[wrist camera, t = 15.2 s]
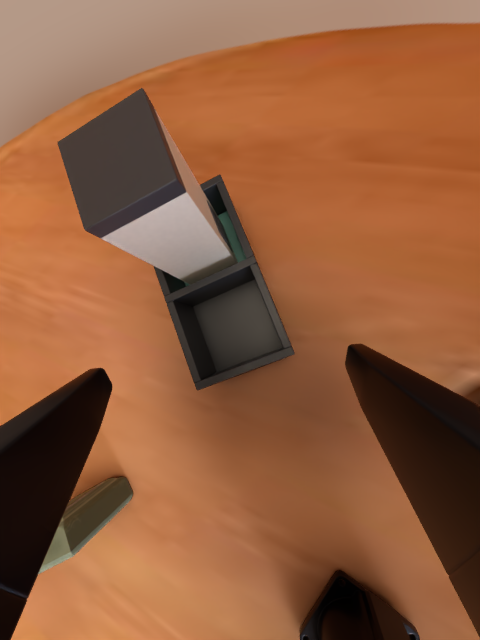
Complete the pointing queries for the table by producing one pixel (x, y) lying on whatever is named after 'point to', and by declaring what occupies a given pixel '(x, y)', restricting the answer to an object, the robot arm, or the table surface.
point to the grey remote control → (86, 518)
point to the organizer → (226, 308)
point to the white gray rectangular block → (144, 192)
